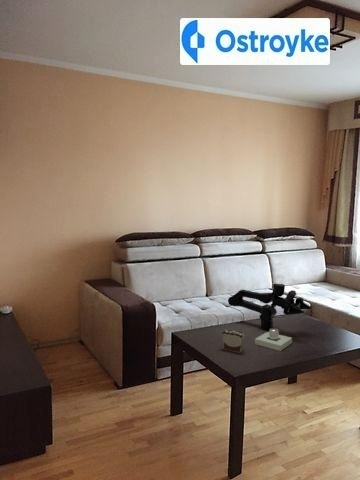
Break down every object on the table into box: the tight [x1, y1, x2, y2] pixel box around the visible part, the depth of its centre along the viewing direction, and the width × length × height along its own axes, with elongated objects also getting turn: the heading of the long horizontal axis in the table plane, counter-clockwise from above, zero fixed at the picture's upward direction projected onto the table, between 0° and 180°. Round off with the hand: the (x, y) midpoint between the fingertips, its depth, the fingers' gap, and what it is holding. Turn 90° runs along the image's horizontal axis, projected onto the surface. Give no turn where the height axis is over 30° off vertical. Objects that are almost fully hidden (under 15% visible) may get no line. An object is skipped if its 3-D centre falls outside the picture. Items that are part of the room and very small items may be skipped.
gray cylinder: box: [268, 327, 280, 341], centre depth 218 cm, size 5×5×8 cm
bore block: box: [254, 331, 293, 352], centre depth 218 cm, size 15×15×3 cm
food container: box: [221, 328, 245, 354], centre depth 209 cm, size 12×6×10 cm, turn 59°
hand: (307, 310), depth 225 cm, fingers open, 9 cm apart
